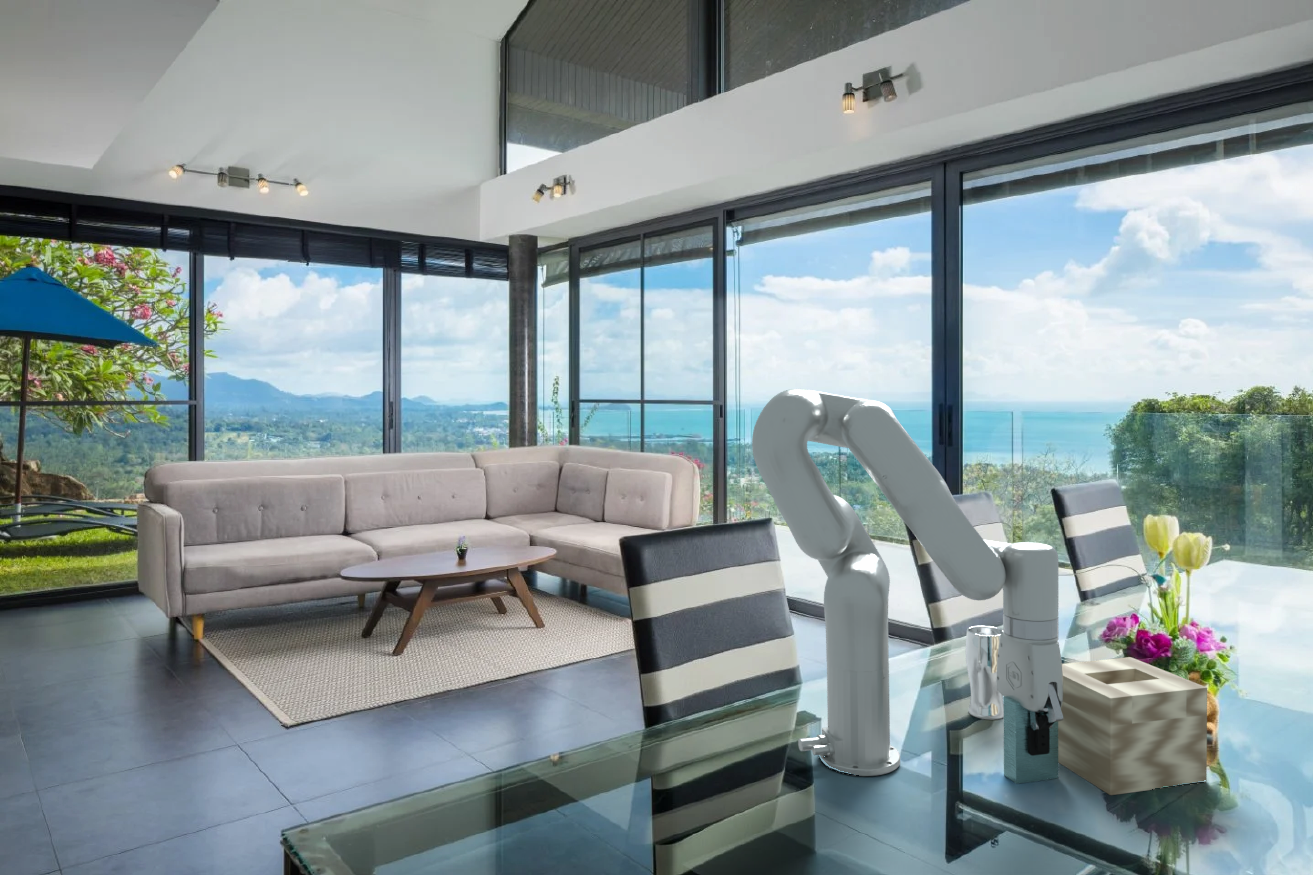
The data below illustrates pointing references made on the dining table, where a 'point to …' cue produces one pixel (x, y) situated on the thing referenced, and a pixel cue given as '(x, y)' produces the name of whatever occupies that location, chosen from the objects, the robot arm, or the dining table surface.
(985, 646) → the chrome pint tumbler
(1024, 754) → the tall teal pillar
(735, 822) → the dining table surface
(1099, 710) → the wooden box with hole
